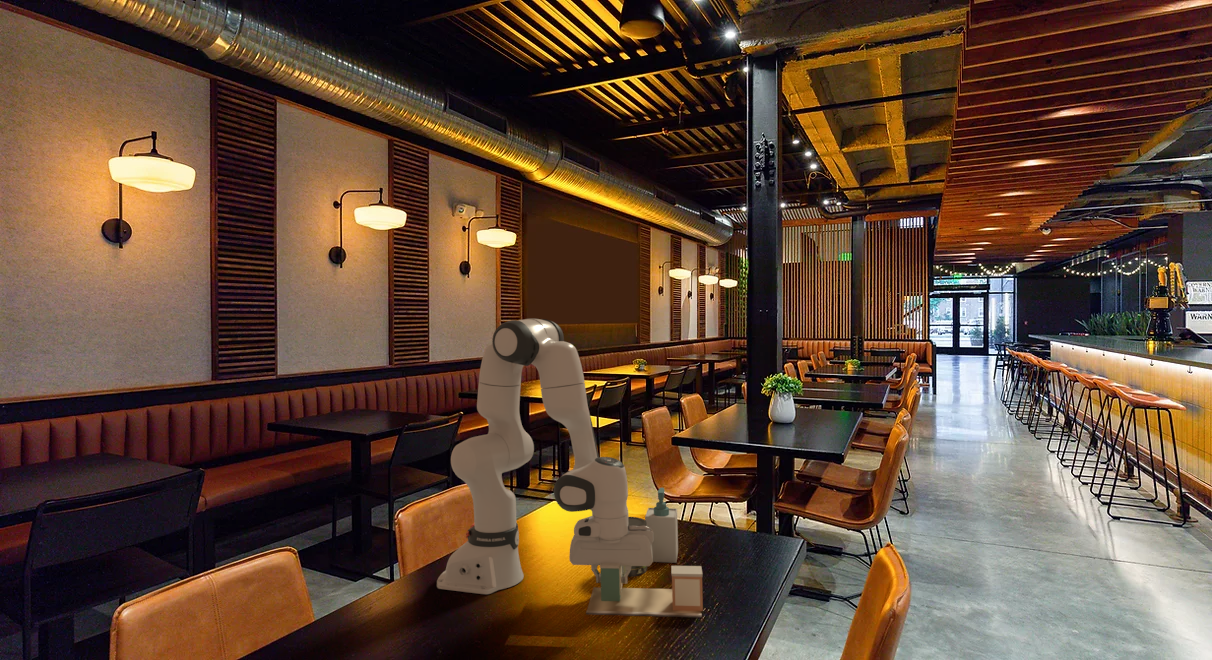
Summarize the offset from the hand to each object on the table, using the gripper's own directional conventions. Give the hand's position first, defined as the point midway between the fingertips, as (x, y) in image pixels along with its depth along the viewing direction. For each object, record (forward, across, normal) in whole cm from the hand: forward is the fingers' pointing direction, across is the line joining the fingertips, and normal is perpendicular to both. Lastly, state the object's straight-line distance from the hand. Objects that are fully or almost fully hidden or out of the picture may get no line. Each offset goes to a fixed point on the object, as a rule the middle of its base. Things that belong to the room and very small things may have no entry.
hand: (611, 582), depth 143 cm
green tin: (+3, 0, 0) cm, 3 cm away
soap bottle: (+5, -12, -29) cm, 32 cm away
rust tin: (+3, -18, +5) cm, 19 cm away
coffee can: (+5, -3, -16) cm, 17 cm away
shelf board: (+4, -8, +2) cm, 10 cm away
